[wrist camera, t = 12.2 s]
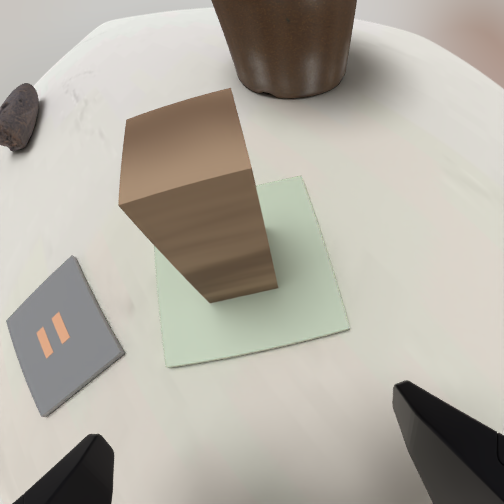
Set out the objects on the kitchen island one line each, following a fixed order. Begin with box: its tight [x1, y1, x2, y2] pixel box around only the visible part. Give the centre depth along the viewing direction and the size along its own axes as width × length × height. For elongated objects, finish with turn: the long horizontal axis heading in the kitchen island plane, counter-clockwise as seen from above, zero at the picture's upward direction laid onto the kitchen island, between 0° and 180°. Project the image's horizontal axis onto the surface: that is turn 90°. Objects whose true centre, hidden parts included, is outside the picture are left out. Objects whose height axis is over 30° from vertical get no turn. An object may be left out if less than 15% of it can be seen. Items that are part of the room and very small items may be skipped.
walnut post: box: [118, 88, 278, 303], centre depth 16 cm, size 5×5×12 cm
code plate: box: [6, 255, 125, 417], centre depth 22 cm, size 10×10×1 cm
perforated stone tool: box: [0, 83, 39, 151], centre depth 34 cm, size 15×5×7 cm, turn 14°
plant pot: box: [212, 0, 357, 98], centre depth 24 cm, size 16×16×16 cm
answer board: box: [154, 176, 350, 368], centre depth 22 cm, size 12×12×1 cm
